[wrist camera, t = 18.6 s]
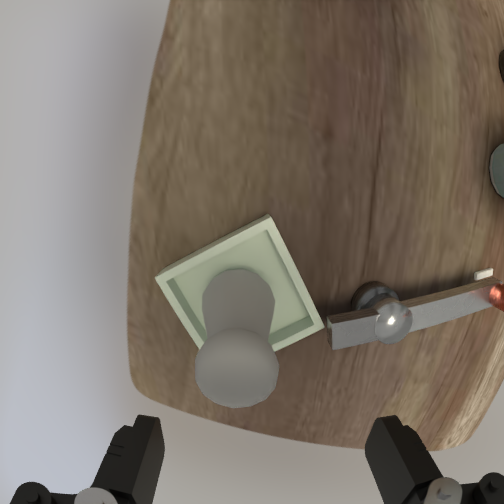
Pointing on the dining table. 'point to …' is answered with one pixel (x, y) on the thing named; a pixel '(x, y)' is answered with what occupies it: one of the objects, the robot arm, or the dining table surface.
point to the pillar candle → (502, 63)
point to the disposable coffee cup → (497, 169)
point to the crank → (410, 313)
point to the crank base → (369, 294)
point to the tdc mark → (483, 273)
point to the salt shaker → (237, 340)
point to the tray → (252, 259)
